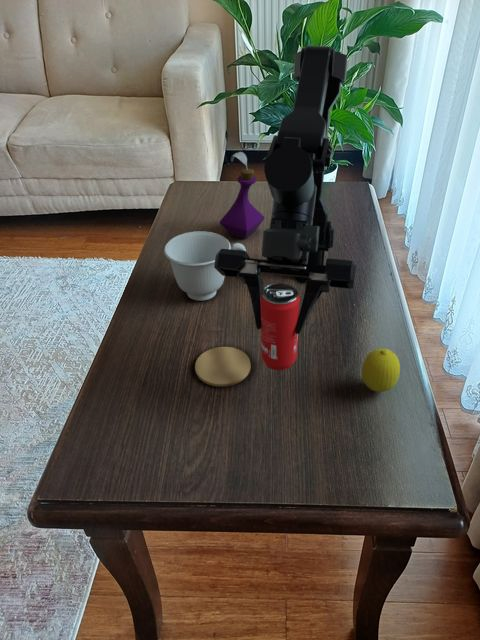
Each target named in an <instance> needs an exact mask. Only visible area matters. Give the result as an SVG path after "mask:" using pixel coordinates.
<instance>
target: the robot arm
mask: <svg viewBox="0 0 480 640" xmlns="http://www.w3.org/2000/svg"><path fill="white" fill-rule="evenodd" d="M293 66H294V67H293V79H294V81H295V82H297V87H296V91H295V92H296V93H295V96H294V97H295V98H294V103H293V107H292V111H291V112H289V113H288V114H286V115H285V116H284V117H283V118H282V119H281V121H280V124H279V127H278V131H277V135H275V134H274V135H273V137H272V140H271V143H270V146H269V149H268V151H267V155H266V157H265V158H266V159H265V162H264V168H263V169H264V171H263V172H264V176H265V179H266V182H267V185H268V189H269V191H270V195H271V197H272V199H273V201H272V209H271V218H270V224H269V228H267V229H264V230H263V231H262V232H263V233H262V246H261V247H262V248H261V256H262V257H263V258H265V259H261V258H251V257H250V256H249V255H250V254H248V252H247V250H246V251H242V250H231V249H220V250H219V251H218V252H217V254H216V257H215V265H214V268H215V269H216V270H217V271H218V272H219V273H220V274H221V275H223V276H225V277H227V278H237V279H238V280H240V282H241V283H242V284H244V285H246V287H247V290H248V293H249V296H250V300H251V305H252V311H253V317H254V322H255V327H256V329H257V330H260V331H261V300H260V299H261V295H262V292H263V289H264V288H265V282H264V281H263V279H262V278H261V277H262V276H263V274H264V275H265V274H266V275H275V276H276V275H277V276H286V277H295V278H296V279H298V280H299V281H301V282H302V283H305V289H304V293H303V298H302V301H301V306H300V309H299V318H298V322H297V331H296V333H297V334H298V335H300V334H301V332H302V330H303V328H304V326H305V324H306V321H307V319H308V317H309V315H310V314H311V312H312V310H313V308H314V306H315V305H316V303H317V302H318V300H319V299H320V297H321V296H322V294H323V293H327V294H328V293H330V290H331V288H337V289H347V290H348V289H349V290H352V289H354V284H355V278H356V277H355V276H356V269H357V265H356V263H355V262H354V261H353V260H351V259H350V260H349V259H337V258H328V257H327V258H326V260H325V254H326V253H325V252H329V249H331V248H334V239H335V238H334V237H335V229H334V228H333V225H332V221H331V220H329V215H330V214H329V213H330V211H329V207H328V206H327V204H326V201H325V200H324V197H323V189H324V179H325V178H324V177H325V171H326V169H327V168H330V166H331V162H332V159H333V153H334V147H333V146H332V141H331V140H330V138H329V137H328V135H329V127H330V126H329V123H330V116H331V115H330V114H331V109H332V108H333V106H334V105H335V103H336V101H338V99H339V97H340V95H341V91H342V84H346V81H347V73H348V54H345V53H342V51H336V48H332V47H331V46H329V45H328V46H327V45H306V46H305V47H301V50H300V51H298V52H295V54H294V65H293ZM324 263H325V264H324Z"/></svg>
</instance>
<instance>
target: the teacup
mask: <svg viewBox="0 0 480 640" xmlns="http://www.w3.org/2000/svg"><path fill="white" fill-rule="evenodd" d="M220 249H231V250H242V251H246V252H247V249H246V247H245V245H244V244H242V243H240V242H236V243H233V244H232V245H231V243H230V241H229V239H227V238H226V237H225V236H223V235H222V234H219V233H216V232H212V231H202V230H201V231H200V230H197V231H189V232H184V233H182V234H178V235H176V236H174V237H172V238H171V239H170V240H169V241H168V242H166V244H165V246H164V249H163V252H164V255H165V256H166V258H167V259H168V260H169V261H170V264H171V268H172V271H173V275H174V278H175V281H176V283H177V285H178V287H179V289H180V290H182V291H183V292H184V293H186V295H187V297H188V298H190V300H194V301H198V302H199V301H200V302H201V301H202V302H203V301H207V300H210V299H212V298H214V297H215V296H216V294H217V291H218V290H219V289H220V288H221V287H222V285H224V282H225V277H226V276H223V275H221V274H220V273H219V272H218V271H217V270H216V269H215V268H214V265H215V257H216V254H217V252H218V251H219V250H220Z"/></svg>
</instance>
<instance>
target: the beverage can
mask: <svg viewBox="0 0 480 640" xmlns="http://www.w3.org/2000/svg"><path fill="white" fill-rule="evenodd" d="M260 300H261V329H260V356H261V360H262V361H263V362H264V364H265V365H264V366H266V367H267V368H268V369H270V370H272V371H276V372H277V371H279V372H280V371H281V372H282V371H286V370H289V369H290V368H291V367H292V366H293V365H294V363H295V361H296V360H297V358H298V345H299V334H297V333H296V331H297V322H298V318H299V314H300V307H301V306H300V303H301V298H300V295H299V291H298V289H297V288H296V287H295V286H293V285H291V284H290V283H286V282H273V283H271V284H270V283H269V284H268V285H266V286H264V289H263V292H262V295H261V299H260Z"/></svg>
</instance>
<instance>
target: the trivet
mask: <svg viewBox="0 0 480 640" xmlns="http://www.w3.org/2000/svg"><path fill="white" fill-rule="evenodd" d="M251 366H252V365H251V360H250V358H249V356H248V354H246V353H245V352H244V351H242V350H241V349H239V348H236V347H231V346H218V347H213V348H210V349H207V350H206V351H204V352H203V353H201V354H200V355H199V356H198V357H197V359H196V361H195V363H194V371H195V374H196V376H197V378H198V379H199V381H202V382H203V384H207V385H209V386H212V387H220V388H222V387H224V388H225V387H230V386H235V385H236V384H239V383H240V382H242V381H243V380H245V379H246V378H247V377H248V375H249V374H250V372H251V369H252V368H251Z"/></svg>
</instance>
